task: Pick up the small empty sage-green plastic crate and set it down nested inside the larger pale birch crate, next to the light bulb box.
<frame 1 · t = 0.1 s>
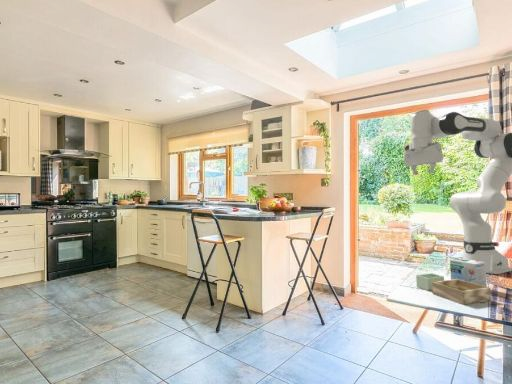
hand: (423, 174, 147), 48 cm above the table, tool pointing down, fingers open, 8 cm apart
light bulb box: (468, 287, 128), on the table
birch crate: (460, 297, 115), on the table
green crate: (430, 288, 128), on the table
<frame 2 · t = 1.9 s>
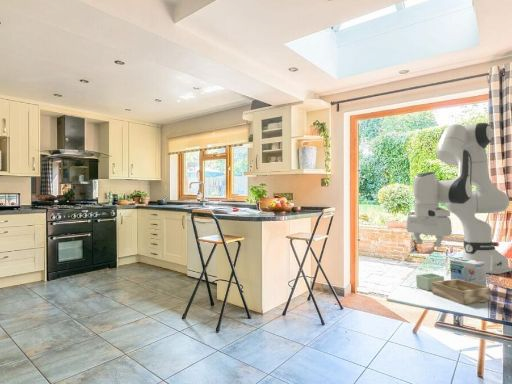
hand: (428, 245, 128), 18 cm above the table, tool pointing down, fingers open, 8 cm apart
nothing on the table moved.
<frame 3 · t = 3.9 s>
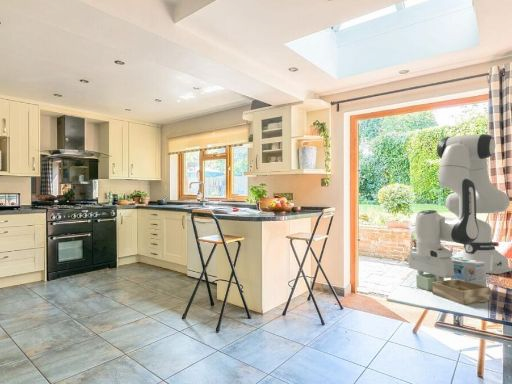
hand: (430, 283, 128), 2 cm above the table, tool pointing down, fingers closed on green crate, 6 cm apart
green crate: (430, 288, 128), on the table, touching gripper
everything else where it was.
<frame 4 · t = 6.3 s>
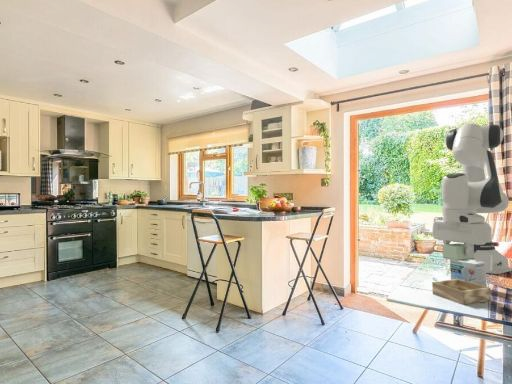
hand: (458, 253, 116), 16 cm above the table, tool pointing down, fingers closed on green crate, 6 cm apart
green crate: (458, 258, 116), point 14 cm above the table, touching gripper
everything else where it was.
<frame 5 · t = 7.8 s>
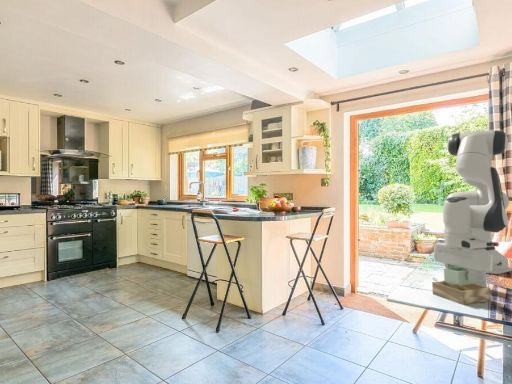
hand: (460, 278, 115), 7 cm above the table, tool pointing down, fingers closed on green crate, 6 cm apart
green crate: (460, 282, 115), point 5 cm above the table, touching gripper
everything else where it was.
when the fingers open (4 cm above the table, at t = 9.0 s): green crate drops 1 cm, resting on birch crate.
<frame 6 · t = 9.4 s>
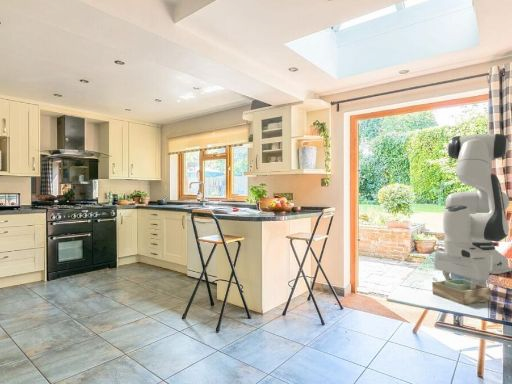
hand: (460, 286, 116), 4 cm above the table, tool pointing down, fingers open, 8 cm apart
green crate: (460, 295, 116), point 1 cm above the table, touching birch crate
everything else where it was.
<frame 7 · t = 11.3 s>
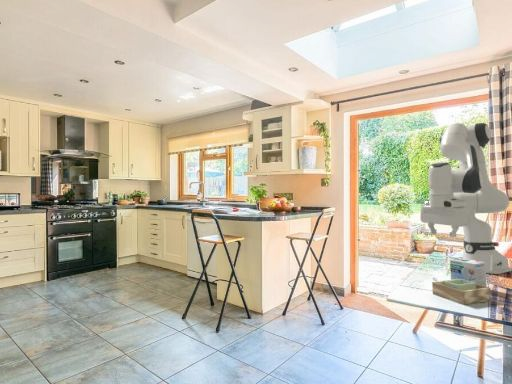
hand: (443, 235, 129), 21 cm above the table, tool pointing down, fingers open, 8 cm apart
nothing on the table moved.
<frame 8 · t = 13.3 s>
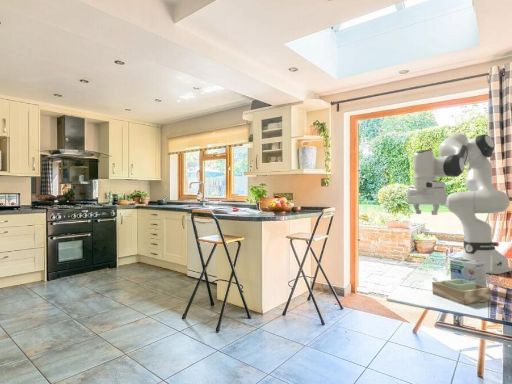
hand: (426, 214, 144), 29 cm above the table, tool pointing down, fingers open, 8 cm apart
nothing on the table moved.
at the end: green crate inside the target area on the birch crate (0.0 cm from its centre), point 0.6 cm above the birch crate's base; green crate tilted 0°; the gripper is holding nothing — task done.
